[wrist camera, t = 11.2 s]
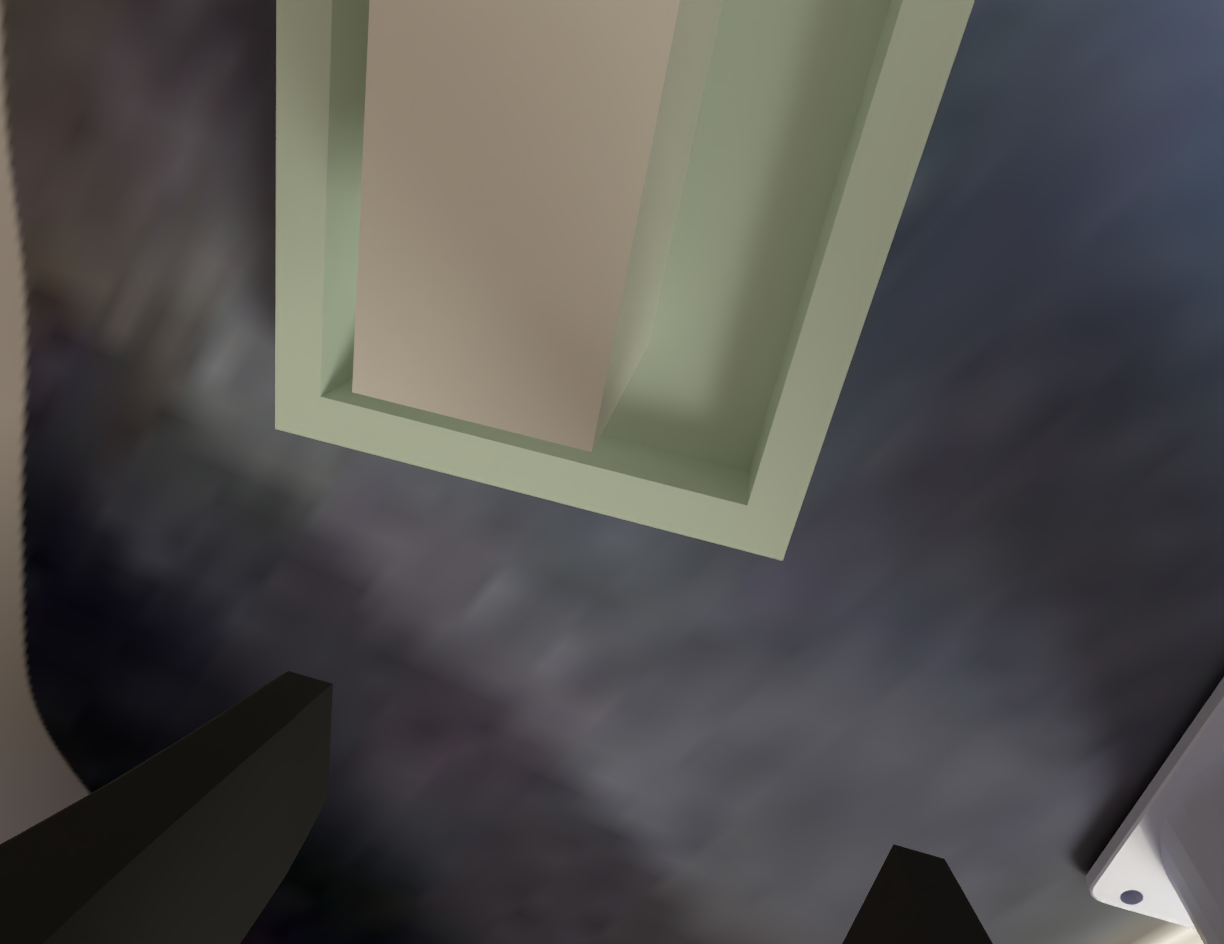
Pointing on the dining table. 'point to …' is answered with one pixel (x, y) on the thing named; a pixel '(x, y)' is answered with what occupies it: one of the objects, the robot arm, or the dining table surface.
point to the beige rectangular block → (521, 202)
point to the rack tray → (694, 275)
